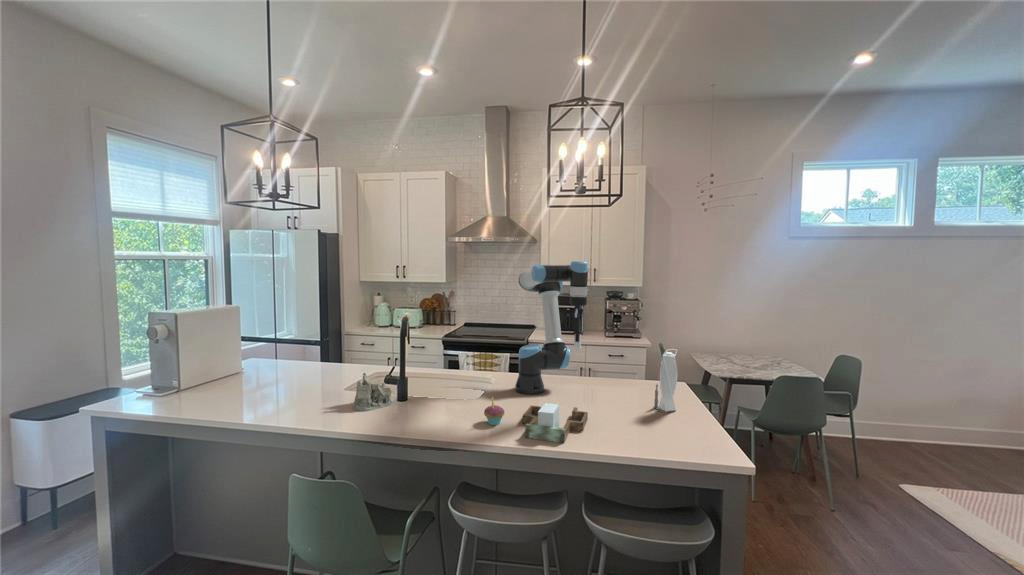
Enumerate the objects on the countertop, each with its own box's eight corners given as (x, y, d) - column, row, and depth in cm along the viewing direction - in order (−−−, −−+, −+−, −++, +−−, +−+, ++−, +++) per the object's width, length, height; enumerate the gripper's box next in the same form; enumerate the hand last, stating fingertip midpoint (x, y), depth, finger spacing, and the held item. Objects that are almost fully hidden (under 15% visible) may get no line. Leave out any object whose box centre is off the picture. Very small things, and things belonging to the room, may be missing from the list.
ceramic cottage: (347, 410, 192) (349, 377, 191) (363, 400, 208) (365, 369, 207) (380, 414, 190) (383, 381, 189) (394, 403, 206) (397, 372, 206)
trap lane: (512, 435, 166) (513, 423, 166) (533, 410, 195) (533, 399, 195) (577, 445, 159) (577, 431, 158) (588, 416, 187) (589, 405, 187)
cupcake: (499, 428, 174) (499, 399, 173) (480, 425, 177) (480, 396, 176) (507, 420, 182) (507, 392, 181) (488, 417, 185) (488, 390, 184)
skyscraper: (668, 405, 202) (670, 346, 200) (680, 411, 195) (682, 350, 193) (653, 407, 200) (655, 347, 198) (664, 413, 192) (666, 351, 190)
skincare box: (543, 427, 175) (544, 402, 174) (559, 429, 173) (560, 404, 172) (536, 437, 165) (537, 411, 164) (553, 440, 163) (553, 413, 162)
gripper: (584, 297, 184) (583, 352, 186) (589, 295, 196) (587, 346, 198) (567, 297, 186) (566, 350, 188) (572, 294, 199) (571, 345, 200)
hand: (577, 348), depth 193 cm, fingers closed
